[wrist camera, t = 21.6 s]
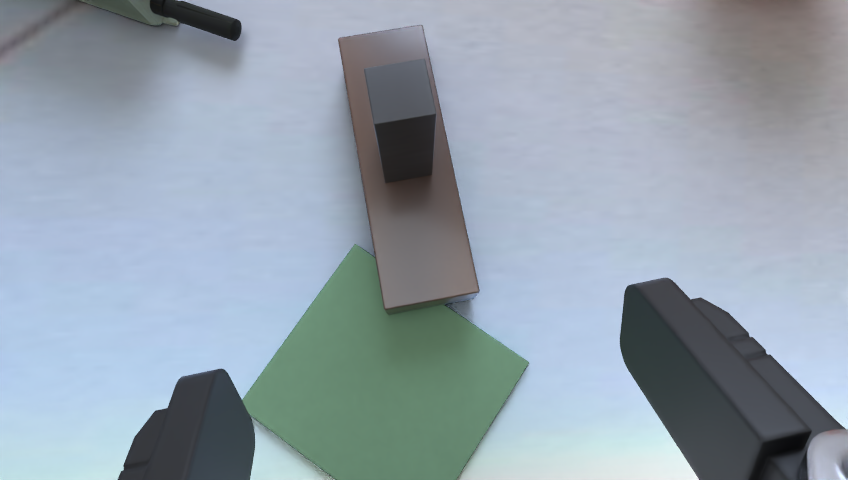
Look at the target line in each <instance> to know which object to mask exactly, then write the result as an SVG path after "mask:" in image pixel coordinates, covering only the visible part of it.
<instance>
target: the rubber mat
mask: <svg viewBox="0 0 848 480" xmlns="http://www.w3.org/2000/svg"><path fill="white" fill-rule="evenodd" d="M528 364H529V362H528V361H526V360H525V359H523V358H522V357H520V356H519V355H518V354H516V353H515V352H513V351H512V350H510V349H509V348H507V347H506V346H504V345H503V344H501V343H500V342H498V341H497V340H496V339H494V338H493V337H491V336H490V335H488V334H487V333H485V332H484V331H482V330H481V329H479V328H478V327H476V326H475V325H474V324H472V323H471V322H469V321H468V320H466V319H465V318H463V317H462V316H460V315H459V314H457V313H456V312H454V311H453V310H452V309H450V308H449V307H447V306H446V305H444V304H443V305H438V306H433V307H427V308H422V309H417V310H411V311H406V312H401V313H396V314H390V315H388V314H387V313H386V311H385V310H384V307H383V301H382V295H381V289H380V283H379V277H378V271H377V266H376V260H375V257H374V256H372V255H371V254H369V253H368V252H366V251H365V250H364V249H362V248H361V247H359V246H358V245H356V244H355V245H354V246H353V247H352V249H351V250H350V251H349V253H348V254H347V256H346V257H345V258H344V260H343V261H342V263H341V264H340V265H339V267H338V268H337V269H336V271H335V272H334V274H333V275H332V276H331V278H330V279H329V281H328V282H327V283H326V285H325V286H324V287H323V289H322V290H321V292H320V293H319V294H318V296H317V297H316V299H315V300H314V301H313V303H312V304H311V305H310V307H309V308H308V310H307V311H306V312H305V314H304V315H303V316H302V318H301V319H300V321H299V322H298V323H297V325H296V326H295V328H294V329H293V330H292V332H291V333H290V334H289V336H288V337H287V339H286V340H285V341H284V343H283V344H282V346H281V347H280V348H279V350H278V351H277V352H276V354H275V355H274V357H273V358H272V359H271V361H270V362H269V364H268V365H267V366H266V368H265V369H264V370H263V372H262V373H261V375H260V376H259V377H258V379H257V380H256V382H255V383H254V384H253V386H252V387H251V388H250V390H249V391H248V393H247V394H246V395H245V397H244V398H243V400H242V401H243V403H244V405H245V407H246V409H247V411H248V413H249V415H251V416H252V417H253V418H255V419H256V420H257V421H259V422H260V423H261V424H263V425H264V426H265V427H267V428H268V429H269V430H271V431H272V432H273V433H275V434H276V435H277V436H279V437H280V438H281V439H282V440H284V441H285V442H286V443H288V444H289V445H290V446H292V447H293V448H294V449H296V450H297V451H298V452H300V453H301V454H302V455H304V456H305V457H306V458H308V459H309V460H310V461H312V462H313V463H314V464H316V465H317V466H318V467H319V468H321V469H322V470H323V471H325V472H326V473H327V474H329V475H330V476H331V477H333V478H334V479H335V480H456V479H457V478H458V476H459V475H460V473H461V471H462V470H463V468H464V467H465V465H466V463H467V462H468V460H469V459H470V457H471V455H472V454H473V452H474V451H475V449H476V447H477V446H478V444H479V443H480V441H481V439H482V438H483V436H484V435H485V433H486V431H487V430H488V428H489V427H490V425H491V423H492V422H493V420H494V418H495V417H496V415H497V414H498V412H499V410H500V409H501V407H502V406H503V404H504V402H505V401H506V399H507V398H508V396H509V394H510V393H511V391H512V390H513V388H514V386H515V385H516V383H517V382H518V380H519V378H520V377H521V375H522V374H523V372H524V370H525V369H526V367H527V366H528Z"/></svg>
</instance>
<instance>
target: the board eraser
mask: <svg viewBox="0 0 848 480" xmlns="http://www.w3.org/2000/svg"><path fill="white" fill-rule="evenodd" d="M338 42H339V48H340V53H341V59H342V65H343V71H344V77H345V83H346V89H347V95H348V101H349V106H350V112H351V118H352V124H353V130H354V136H355V142H356V148H357V154H358V160H359V165H360V171H361V177H362V183H363V189H364V195H365V201H366V207H367V213H368V218H369V224H370V230H371V236H372V242H373V248H374V254H375V260H376V266H377V271H378V277H379V283H380V289H381V295H382V301H383V307H384V310H385V311H386V313H387V314H388V315H390V314H396V313H401V312H406V311H411V310H417V309H422V308H427V307H433V306H438V305H443V304H449V303H454V302H459V301H464V300H470V299H473V298H474V297H475V296H476V295H477V294H478V293H479V286H478V281H477V277H476V272H475V267H474V263H473V258H472V253H471V249H470V244H469V239H468V235H467V230H466V225H465V221H464V216H463V211H462V207H461V202H460V197H459V193H458V188H457V183H456V179H455V174H454V170H453V165H452V160H451V156H450V151H449V146H448V142H447V137H446V132H445V128H444V123H443V118H442V114H441V109H440V104H439V100H438V95H437V90H436V86H435V81H434V76H433V72H432V67H431V62H430V58H429V53H428V48H427V44H426V39H425V34H424V30H423V26H422V25H417V26H411V27H404V28H398V29H392V30H386V31H379V32H373V33H367V34H360V35H354V36H348V37H342V38H339V39H338Z"/></svg>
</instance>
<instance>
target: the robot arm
mask: <svg viewBox="0 0 848 480" xmlns="http://www.w3.org/2000/svg"><path fill="white" fill-rule="evenodd" d="M620 347H621V352H622V356H623V359H624V362H625V364H626V366H627V368H628V370H629V372H630V373H631V375H632V376H633V378H634V379H635V381H636V383H637V384H638V386H639V387H640V389H641V390H642V392H643V393H644V395H645V396H646V398H647V400H648V401H649V403H650V404H651V406H652V407H653V409H654V410H655V412H656V413H657V415H658V417H659V418H660V420H661V421H662V423H663V424H664V426H665V427H666V429H667V430H668V432H669V433H670V435H671V437H672V438H673V440H674V441H675V443H676V444H677V446H678V447H679V449H680V450H681V452H682V454H683V455H684V457H685V458H686V460H687V461H688V463H689V464H690V466H691V467H692V469H693V471H694V472H695V474H696V475H697V477H698V478H699V480H848V430H846V429H845V428H844V427H843V426H842V425H840V424H839V423H838V422H837V421H836V420H835V419H834V418H833V417H832V416H831V415H830V414H829V413H828V412H827V411H826V410H825V409H824V408H823V407H822V406H821V405H820V404H819V403H818V402H817V401H816V400H815V399H814V398H813V397H812V396H811V395H810V394H809V393H808V392H807V391H806V390H805V389H804V388H803V387H802V386H801V385H800V384H799V383H798V382H797V381H796V380H795V379H794V378H793V377H792V376H791V375H790V374H789V373H788V372H787V371H786V370H785V369H784V368H783V367H782V366H781V365H780V364H779V363H778V362H777V361H776V360H775V359H774V358H773V357H772V356H771V355H767V354H766V350H765V349H764V348H763V347H762V346H761V345H760V344H759V343H758V342H757V341H756V340H755V339H754V338H753V337H751V338H750V337H749V333H748V332H747V331H746V330H745V329H744V328H743V327H742V326H741V325H740V324H739V323H738V322H737V321H736V320H735V319H734V318H733V317H732V316H731V315H730V314H729V313H728V312H726V311H724V310H722V309H721V308H719V307H717V306H715V305H713V304H712V303H710V302H708V301H706V300H704V299H703V298H696V299H692V300H690V298H689V297H688V296H687V295H686V294H685V293H684V292H683V291H682V290H681V289H680V288H679V287H678V286H677V285H676V284H675V283H674V282H673V281H672V280H671V279H669V278H661V279H656V280H651V281H647V282H642V283H637V284H632V285H629V286H627V288H626V290H625V295H624V304H623V314H622V324H621V334H620ZM254 450H255V433H254V427H253V423H252V419H251V417H250V415H249V413H248V411H247V409H246V407H245V405H244V403H243V401H242V400H241V398H240V396H239V394H238V392H237V390H236V388H235V386H234V384H233V382H232V380H231V378H230V377H229V375H228V373H227V372H226V371H225V370H224V369H217V370H212V371H207V372H202V373H198V374H193V375H188V376H183V377H181V378H180V379H179V380H178V382H177V384H176V386H175V389H174V392H173V395H172V397H171V400H170V403H169V406H168V408H166V409H162V410H157V411H155V412H154V413H153V414H152V416H151V417H150V418H149V420H148V421H147V422H146V423H145V425H144V426H143V427H142V428H141V430H140V431H139V432H138V434H137V435H136V436H135V438H134V440H133V443H132V445H131V448H130V450H129V453H128V455H127V458H126V460H125V463H124V465H123V466H124V471H121V473H120V475H119V478H118V480H250V476H251V469H252V463H253V457H254Z"/></svg>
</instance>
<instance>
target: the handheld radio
mask: <svg viewBox="0 0 848 480" xmlns="http://www.w3.org/2000/svg"><path fill="white" fill-rule="evenodd" d="M79 1H82V2H85V3H88V4H91V5H93V6H96V7H99V8H102V9H105V10H108V11H111V12H114V13H117V14H120V15H123V16H125V17H128V18H131V19H134V20H137V21H140V22H143V23H146V24H149V25H161V24H162V23H165V24H169V25H174V26H178V24H179V23H180V22H181V23H184V24H187V25H190V26H193V27H195V28H198V29H201V30H204V31H207V32H210V33H213V34H216V35H219V36H222V37H224V38H227V39H230V40H233V41H236V40H237V39H238V38H239V37H240V34H241V23H240V21H239V20H237V19H234V18H231V17H228V16H225V15H222V14H220V13H217V12H214V11H211V10H208V9H205V8H202V7H199V6H196V5H193V4H190V3H187V2H184V1H177V0H79Z"/></svg>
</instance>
